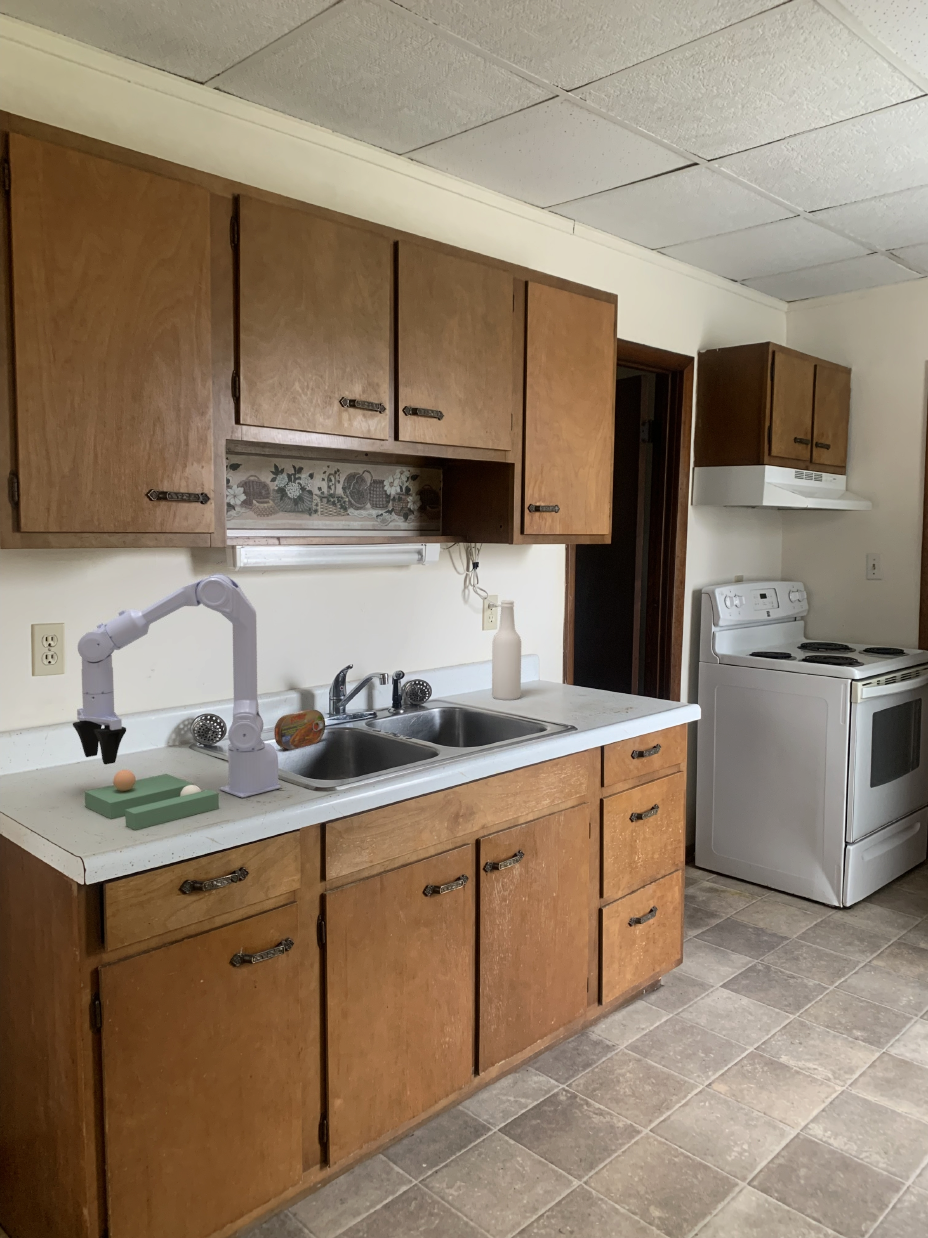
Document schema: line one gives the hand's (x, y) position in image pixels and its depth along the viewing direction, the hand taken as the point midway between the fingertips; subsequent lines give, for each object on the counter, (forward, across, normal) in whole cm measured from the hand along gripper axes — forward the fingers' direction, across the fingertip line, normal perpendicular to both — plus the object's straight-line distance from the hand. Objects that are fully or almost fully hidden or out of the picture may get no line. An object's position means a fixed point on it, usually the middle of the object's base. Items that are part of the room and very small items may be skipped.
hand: (100, 759), depth 182 cm
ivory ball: (+5, +18, +9) cm, 21 cm away
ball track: (+7, +14, +3) cm, 16 cm away
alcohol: (+7, -7, +133) cm, 133 cm away
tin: (+7, -4, +52) cm, 53 cm away
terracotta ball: (+2, +10, 0) cm, 10 cm away
